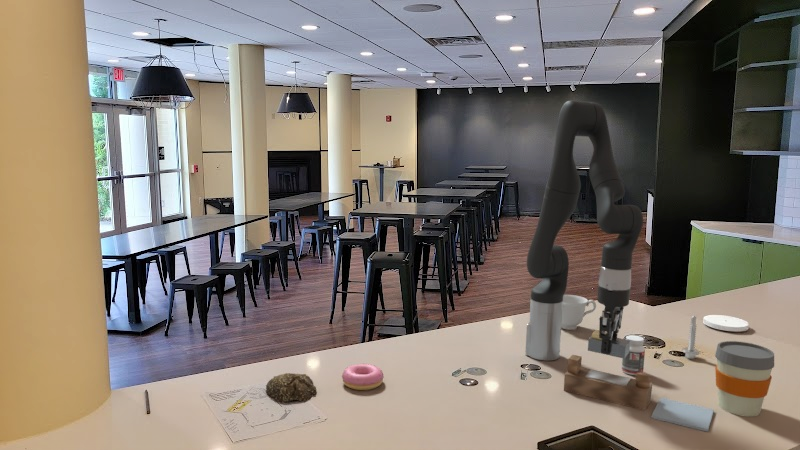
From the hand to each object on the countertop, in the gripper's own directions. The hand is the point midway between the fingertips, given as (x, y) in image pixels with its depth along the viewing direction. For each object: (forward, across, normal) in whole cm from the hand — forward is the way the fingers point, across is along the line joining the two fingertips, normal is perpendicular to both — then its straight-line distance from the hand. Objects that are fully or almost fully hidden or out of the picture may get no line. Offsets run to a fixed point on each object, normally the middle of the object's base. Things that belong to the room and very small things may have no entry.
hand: (608, 349), depth 156 cm
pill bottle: (+12, -20, +2) cm, 24 cm away
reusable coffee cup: (+12, -11, +30) cm, 34 cm away
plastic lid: (+13, -82, +20) cm, 85 cm away
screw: (+12, -42, +14) cm, 46 cm away
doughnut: (+13, +30, -55) cm, 64 cm away
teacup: (+13, -50, -24) cm, 57 cm away
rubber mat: (+12, +1, +19) cm, 22 cm away
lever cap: (0, 0, 0) cm, 0 cm away
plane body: (+12, 0, 0) cm, 12 cm away
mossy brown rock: (+13, +44, -66) cm, 81 cm away
